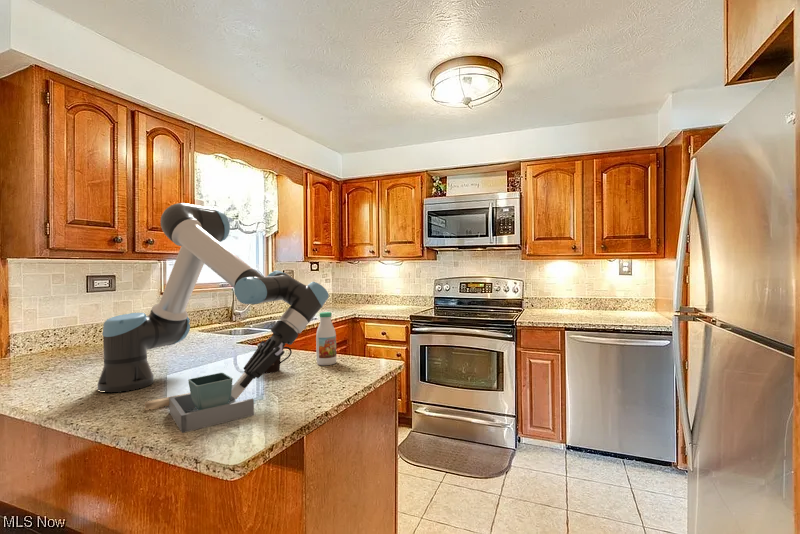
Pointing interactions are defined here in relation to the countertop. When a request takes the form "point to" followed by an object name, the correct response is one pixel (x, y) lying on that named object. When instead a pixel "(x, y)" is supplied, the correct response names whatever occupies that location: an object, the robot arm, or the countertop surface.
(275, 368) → the coffee mug
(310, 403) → the countertop surface
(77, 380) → the countertop surface
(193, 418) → the box
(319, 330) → the milk bottle
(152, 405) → the scraper
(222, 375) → the flower pot
